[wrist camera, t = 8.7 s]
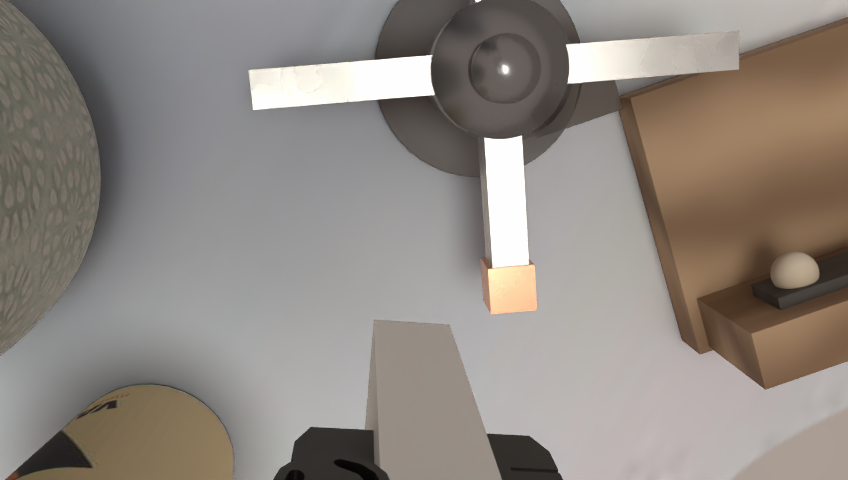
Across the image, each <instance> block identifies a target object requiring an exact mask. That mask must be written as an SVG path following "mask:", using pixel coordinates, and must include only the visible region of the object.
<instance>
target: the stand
mask: <svg viewBox="0 0 848 480" xmlns="http://www.w3.org/2000/svg"><path fill="white" fill-rule="evenodd" d="M532 1H534V2H536V3H538V4H539V5H541V6H543V7H544V8H545V9H547V10H548V11H549V12H550V13H551V14H552V15H553V16H554V17H555V18H556V19H557V20H558V21H559V23H560V24H561V25H562V27H563V28H564V30H565V32H566V34H567V36H568V38H569V41H570V44H580V41H579V37H578V34H577V31H576V28H575V26H574V23H573V21H572V19H571V17H570V15H569V13H568V12H567V10H566V9H565V7H564V6H563V4H562V3H561V2H560V0H532ZM468 4H469V0H400V1H399V2H398V3H397V5H396V6H395V7H394V9H393V10H392V12H391V13H390V15H389V17H388V19H387V21H386V22H385V25H384V27H383V30H382V32H381V35H380V38H379V42H378V46H377V50H376V57H375V60H381V59H393V58H406V57H418V56H426V52H427V50H428V47H429V45H430V43H431V41H432V39H433V37H434V36H435V34H436V33H437V32H438V30H439V29H440V28H441V27H442V26H443V25H444V24H445V23H447V21H448V20H449V19H450V18H451V17H452V16H453V15H454V14H456V13H457V12H458V11H459V10H461V9H462V8H463V7H465V6H466V5H468ZM378 100H379V104H380V107H381V109H382V112H383V114H384V116H385V119H386V121H387V122H388V124H389V126H390V128H391V129H392V131H393V132H394V134H395V135H396V136H397V138H398V139H399V140H400V141H401V143H402V144H403V145H404V146H405V147H406V148H407V149H408V150H409V151H410V152H412V153H413V154H414V155H416V156H417V157H418V158H419V159H421V160H422V161H424V162H426V163H428V164H429V165H431V166H433V167H435V168H438V169H440V170H442V171H445V172H448V173H452V174H456V175H461V176H469V177H480V162H479V147H478V139H477V138H474V137H472V136H470V135H468V134H466V133H464V132H463V131H461V130H459V129H458V128H457V127H456V126H454V125H453V124H451V123H450V122H449V121H447V120H446V119H445V118H444V117H443V116H442V115H441V114H440V113H439V112H438V111H437V110H436V108H435V107H434V106H433V104H432V102H431V100H430V98H429V96H428V95H425V96H413V97H401V98H389V99H378ZM618 110H619V113H620V117H621V120H622V124H623V128H624V131H625V135H626V138H627V142H628V146H629V149H630V153H631V156H632V160H633V164H634V167H635V171H636V174H637V178H638V182H639V185H640V189H641V193H642V196H643V200H644V203H645V207H646V211H647V214H648V218H649V221H650V225H651V229H652V232H653V236H654V239H655V243H656V247H657V250H658V254H659V258H660V261H661V265H662V268H663V272H664V276H665V279H666V283H667V286H668V290H669V294H670V297H671V301H672V304H673V308H674V312H675V315H676V319H677V323H678V326H679V330H680V333H681V337H682V340H683V341H684V342H685V343H687V344H688V345H689V346H690V347H691V348H693V349H694V350H695V351H696V352H698V353H699V354H703V353H706V352H709V351H712V350H714V351H716V352H717V353H718V354H719V355H721V356H722V357H723V358H725V359H726V360H727V361H729V362H730V363H731V364H733V365H734V366H735V367H737V368H738V369H739V370H740V371H742V372H743V373H744V374H746V375H747V376H748V377H750V378H751V379H752V380H754V381H755V382H756V383H758V384H759V385H760V386H761V387H763V388H764V389H765V390H766V389H769V388H772V387H774V386H777V385H780V384H783V383H786V382H789V381H792V380H795V379H798V378H800V377H803V376H806V375H809V374H812V373H815V372H818V371H821V370H824V369H826V368H829V367H832V366H835V365H838V364H841V363H844V362H847V361H848V18H845V19H842V20H839V21H836V22H833V23H830V24H828V25H825V26H822V27H819V28H816V29H813V30H810V31H807V32H804V33H801V34H799V35H796V36H793V37H790V38H787V39H784V40H781V41H778V42H775V43H772V44H770V45H767V46H764V47H761V48H758V49H755V50H752V51H749V52H746V53H743V54H741V55H739V69H738V70H726V71H714V72H702V73H690V74H682V75H680V76H677V77H674V78H671V79H668V80H665V81H662V82H659V83H656V84H653V85H651V86H648V87H645V88H642V89H639V90H636V91H633V92H630V93H627V94H624V95H622V96H619V94H618V90H617V87H616V83H615V80H606V81H594V82H582V83H573V84H572V88H571V91H570V94H569V97H568V99H567V101H566V103H565V105H564V107H563V108H562V110H561V111H560V113H559V114H558V115H557V117H556V118H555V119H554V120H553V121H552V122H551V123H550V124H549V125H548V126H546V127H545V128H544V129H543V130H541V131H540V132H538V133H536V134H535V135H533V136H530V137H528V138H526V139H523V140H522V148H523V166H524V165H526V164H528V163H529V162H531V161H533V160H535V159H536V158H537V157H538V156H540V155H541V154H542V153H544V152H545V151H546V150H547V149H548V148H549V147H550V146H551V145H552V144H553V143H554V142H555V141H556V140H557V139H558V137H559V136H560V135H561V133H562V132H563V131H564V129H566V128H569V127H571V126H574V125H577V124H580V123H583V122H586V121H589V120H592V119H595V118H598V117H600V116H603V115H606V114H609V113H612V112H615V111H618Z"/></svg>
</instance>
